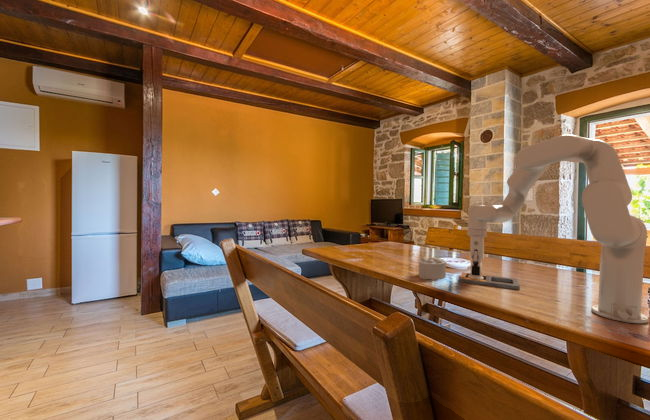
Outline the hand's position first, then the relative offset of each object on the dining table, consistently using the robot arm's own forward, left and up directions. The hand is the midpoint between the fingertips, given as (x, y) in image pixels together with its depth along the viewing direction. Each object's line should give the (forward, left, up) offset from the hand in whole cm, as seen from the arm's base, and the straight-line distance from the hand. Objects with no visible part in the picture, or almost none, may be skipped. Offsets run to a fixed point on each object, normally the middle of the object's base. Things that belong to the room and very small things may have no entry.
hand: (475, 273), depth 132 cm
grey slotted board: (0, -5, -3) cm, 6 cm away
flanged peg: (0, 0, -2) cm, 2 cm away
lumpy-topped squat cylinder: (-4, +18, -3) cm, 19 cm away
